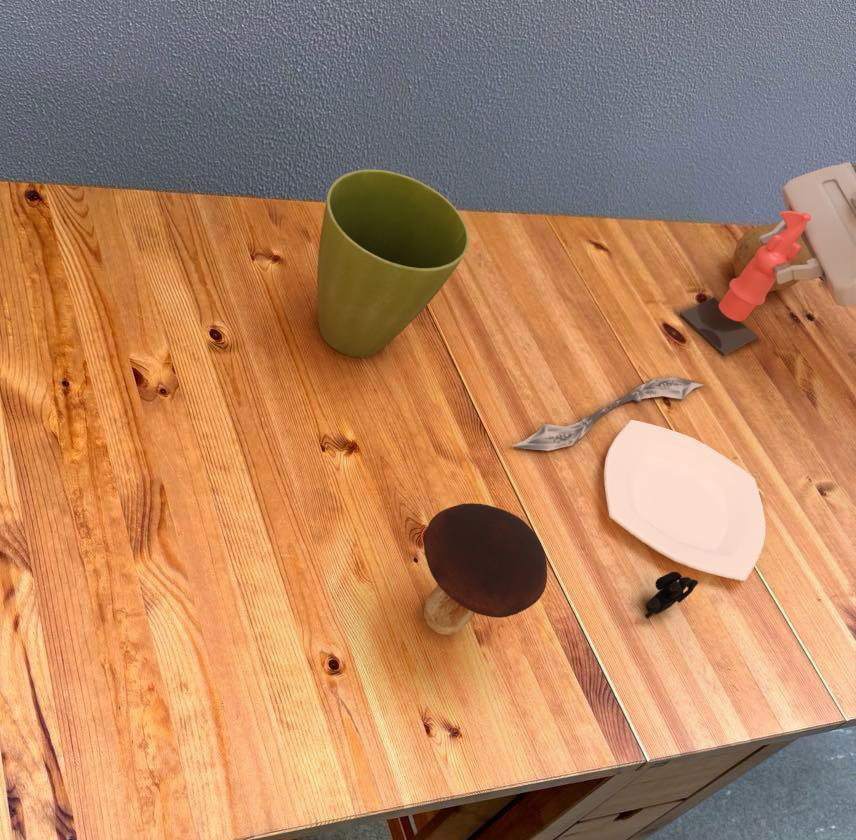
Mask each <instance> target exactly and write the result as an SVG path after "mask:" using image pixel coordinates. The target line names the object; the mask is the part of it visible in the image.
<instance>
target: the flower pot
mask: <svg viewBox="0 0 856 840" xmlns="http://www.w3.org/2000/svg"><path fill="white" fill-rule="evenodd" d="M324 206H325V207H324V212H323V216H322V223H321V229H320V237H319V244H318V257H317V271H316V273H317V274H316V279H317V280H316V294H317V296H316V298H317V300H316V301H317V315H318V327H319V332H320V334H321V337H322V338H323V340H324V341H325V343H326V344H328V345H329V347H331V348H332V349H334V351H336V352H338V353H340V354H343V355H345V356H348V357H352V358H358V359H359V358H360V359H361V358H369V357H372V356H374V355H376V354H377V353H378V352H381V350H383V349H384V348H385V347H386V346H387V345H388V344H390V343H391V342H392V341H393V340H394V339H395V338H397V336H399V335H400V334H401V333H402V332H403V331H404V330H406V328H407V327H408V326H409V325H410V324H411V323H412V322H413V321H414V320H415V319H416V318H417V317H418V316H419V315H420V314H421V313H422V311H424V310H425V308H426V307H427V306H428V305H429V304H430V302H432V300H433V299H434V298H435V296H436V295H438V293H439V292H440V290H441V289H442V288H443V287H444V285H445V284H446V283H447V281H448V280H449V278H450V277H451V276H452V274H453V273H454V272H455V270H456V269H457V267H458V266H459V264H460V262H461V261H462V260H463V258H464V256H466V254H467V252H468V249H469V245H470V234H469V229H468V226H467V223H466V221H465V220H464V217H462V214H461V213H460V211H459V210H458V209H457V208H456V207H455V206H454V205H453V204H452V202H450V201H449V200H448V199H447V198H446V197H445V196H444V195H443V194H441V193H440V192H438V191H437V190H436V189H434V188H432V187H431V186H429V185H427V184H426V183H424V182H422V181H420V180H418V179H415V178H413V177H411V176H407V175H405V174H402V173H398V172H394V171H390V170H384V169H372V168H371V169H359V170H355V171H351V172H348V173H345V174H343V175H342V176H340V177H338V178H337V179H336V180H335V181H334V182H333V183H331V186H330V187H329V189H328V192H327V196H326V200H325V205H324Z"/></svg>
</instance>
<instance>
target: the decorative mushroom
mask: <svg viewBox="0 0 856 840" xmlns="http://www.w3.org/2000/svg"><path fill="white" fill-rule="evenodd" d="M423 552H424V555H425V561H426V564H427V566H428V569H429V572H430V574H431V576H432V577H433V579H434V581H435V582H436V586H435V587H434V588H433V590H432V591H431V592H430V593H429V595H428V596H427V598H426V600H425V604H424V609H423V616H424V620H425V622H426V624H427V626H428V627H429V629H431V631H432V632H434V633H436V634H438V635H442V636H446V635H447V636H448V635H449V636H450V635H453V634H454V635H455V634H456V633H458V632H460V631H461V630H463V629H464V628H465V627H466V626H467V625H468V623H469V622H470V621H471V620H472V619H473V618H474V616H475V614H476V615H480V616H485V617H490V618H497V619H498V618H499V619H500V618H501V619H502V618H508V617H512V616H514V615H518V614H519V613H522V612H524V611H525V610H527V609H529V608H531V607H532V606H534V605H535V604H536V603H537V602H538V601H539V600H540V599H541V598H542V595H543V594H544V592H545V590H546V587H547V582H548V562H547V556H546V553H545V550H544V547H543V543H542V542H541V541H540V539H539V537H538V536H537V534H536V533H535V532H534V530H533V529H532V527H531V526H529V525H528V524H527V522H526V521H524V520H523V519H522V518H520V516H517V515H515V514H514V513H512V512H509V511H507V510H505V509H502V508H499V507H497V506H493V505H489V504H484V503H476V502H475V503H473V502H472V503H461V504H456V505H453V506H449V507H446V508H444V509H442V510H441V511H439V512H438V513H436V515H434V516H433V517H432V518H431V519H430V521H429V523H428V525H427V527H426V530H425V532H424V536H423Z"/></svg>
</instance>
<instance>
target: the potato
mask: <svg viewBox="0 0 856 840" xmlns="http://www.w3.org/2000/svg"><path fill="white" fill-rule="evenodd" d="M779 223H780V222H775V223H771V224H764V225H758V226H755V227H754V228H752V229H750V230H748V231H746V232H745V233H743V235H741V237H740V238H739V239H738V240H737V242H736V245H735V249H734V253H733V269H734V274H735V278H738V277H739V276H740V275H741V273H742V272H743V271H744V269H745V268H746V266H747V265H748V263H749V262H750V261H751V259H752V258H754V257H755V253H756V251H757V250H758V249H759V248H760V244H759V240H758V239H759V237H760V236H762V235H764V234H767V233H769V232H772V231H773V229H774V228H775V227H776V226H777V225H778V224H779ZM797 243H798V244H799V245H801V247H802V248H801V251H800V253H799V254H798V256H797V257H796V258H795V259H794V260H791V264H790V266H793V265H806V264H807V263H806V261H807V260H809V259H812V257H811V255H810V253H809V251H808V249H807V247H806V245H805V243H804V241H803V239H802V237H801V236H800V238H799V239H798V241H797ZM798 282H800V280H794V279H793V280H790V281H788V282H785V283H782V284H778V283H777V281H775V282H774V284H773V285H772V287H771V288H770V290H769V291H768V293H769V292H773V291H778V290H783V289H786V288H791V287H792V286H794V285H796V284H797V283H798Z"/></svg>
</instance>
